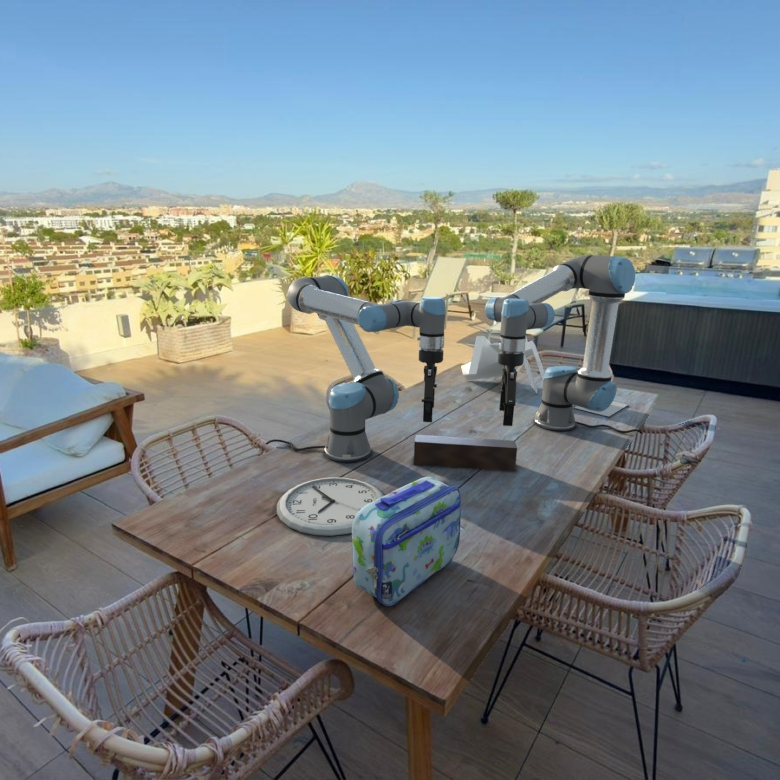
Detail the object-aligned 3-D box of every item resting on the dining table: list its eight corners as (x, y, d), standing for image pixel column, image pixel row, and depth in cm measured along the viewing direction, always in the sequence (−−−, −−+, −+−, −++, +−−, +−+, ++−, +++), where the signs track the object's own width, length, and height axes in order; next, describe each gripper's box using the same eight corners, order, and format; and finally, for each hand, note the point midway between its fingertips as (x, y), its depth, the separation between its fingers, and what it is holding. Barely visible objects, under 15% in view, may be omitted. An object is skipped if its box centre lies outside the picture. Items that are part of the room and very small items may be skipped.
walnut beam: (512, 463, 170) (515, 440, 168) (514, 471, 165) (517, 448, 162) (415, 456, 174) (415, 434, 171) (413, 464, 168) (414, 441, 166)
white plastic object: (482, 422, 260) (461, 399, 236) (463, 348, 283) (442, 320, 258) (555, 398, 248) (541, 371, 224) (529, 323, 270) (514, 291, 246)
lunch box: (381, 619, 101) (382, 525, 95) (345, 592, 109) (344, 503, 102) (464, 563, 119) (469, 480, 113) (428, 543, 126) (432, 464, 120)
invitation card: (608, 416, 214) (573, 407, 224) (608, 416, 214) (573, 408, 224) (628, 404, 229) (594, 396, 238) (628, 405, 229) (594, 397, 238)
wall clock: (392, 527, 129) (268, 531, 127) (391, 533, 130) (269, 537, 127) (383, 473, 158) (282, 475, 155) (383, 478, 158) (282, 480, 156)
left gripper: (421, 339, 171) (419, 401, 178) (415, 357, 148) (413, 427, 154) (444, 340, 171) (441, 402, 177) (442, 358, 147) (439, 429, 153)
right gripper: (495, 342, 169) (490, 404, 175) (502, 360, 145) (496, 431, 152) (519, 343, 168) (513, 405, 174) (529, 361, 144) (522, 433, 151)
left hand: (428, 414), depth 166 cm, fingers open, 13 cm apart
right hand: (505, 417), depth 163 cm, fingers open, 13 cm apart
